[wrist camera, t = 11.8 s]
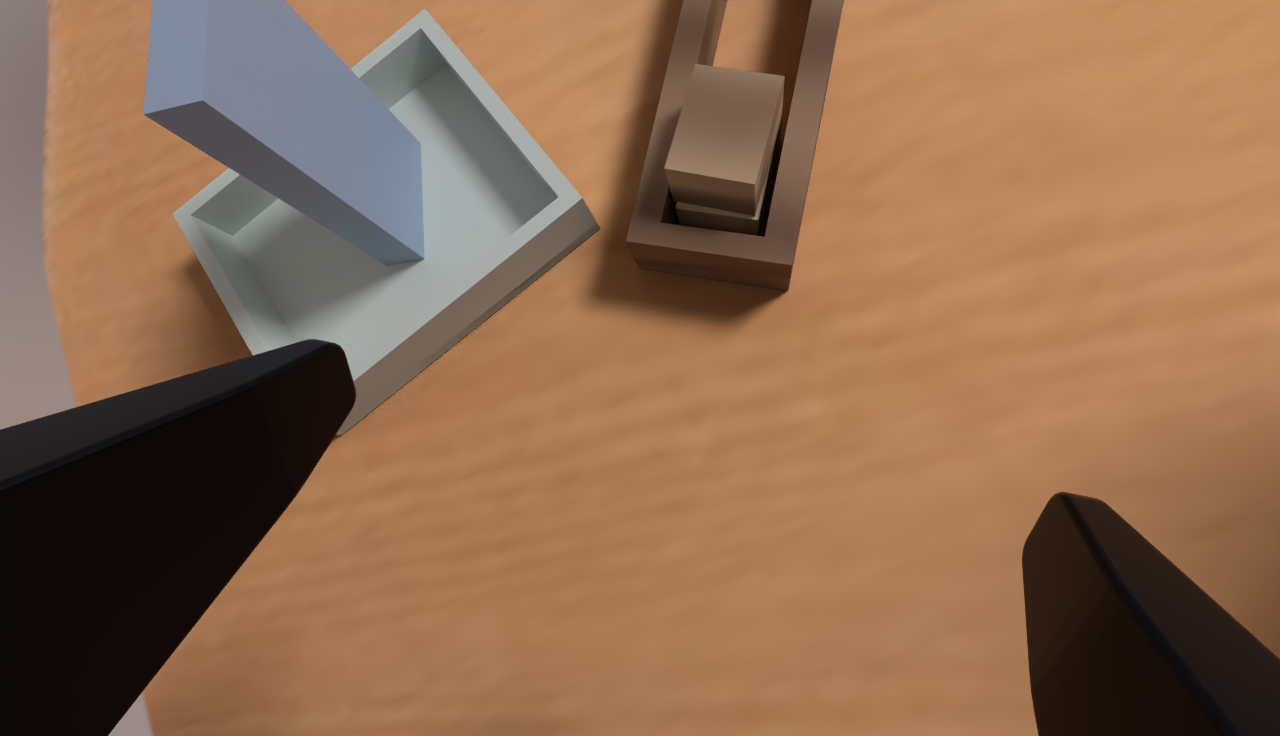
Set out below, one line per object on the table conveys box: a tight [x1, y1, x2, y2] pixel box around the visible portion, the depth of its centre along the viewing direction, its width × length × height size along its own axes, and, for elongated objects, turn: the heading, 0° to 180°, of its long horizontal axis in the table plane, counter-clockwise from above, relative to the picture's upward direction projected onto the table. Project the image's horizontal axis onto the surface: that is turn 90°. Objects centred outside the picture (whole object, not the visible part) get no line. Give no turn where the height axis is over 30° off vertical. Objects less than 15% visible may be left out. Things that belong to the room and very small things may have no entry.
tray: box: [173, 9, 600, 435], centre depth 24 cm, size 13×11×2 cm
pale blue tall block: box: [144, 0, 425, 266], centre depth 20 cm, size 5×2×10 cm, turn 6°
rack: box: [626, 0, 844, 291], centre depth 22 cm, size 15×5×2 cm, turn 167°
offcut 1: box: [664, 64, 785, 216], centre depth 20 cm, size 4×3×2 cm
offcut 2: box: [675, 119, 782, 236], centre depth 22 cm, size 4×3×2 cm
